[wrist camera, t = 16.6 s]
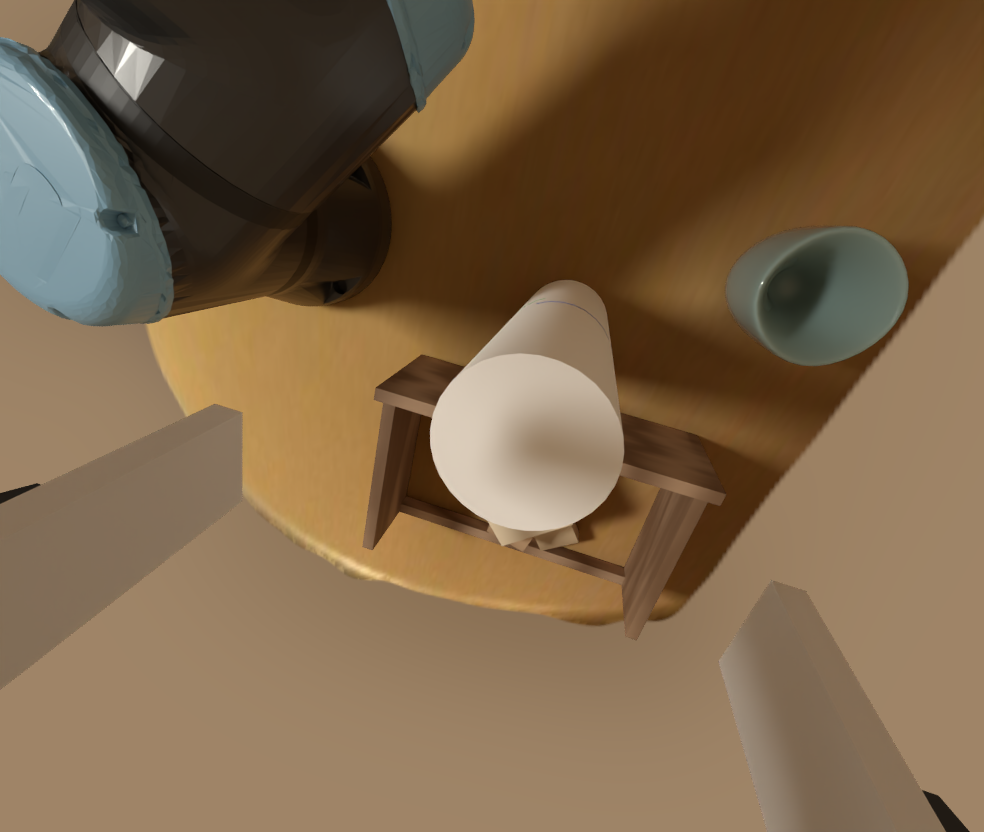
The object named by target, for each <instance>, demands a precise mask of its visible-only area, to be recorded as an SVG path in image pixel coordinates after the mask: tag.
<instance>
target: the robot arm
mask: <svg viewBox="0 0 984 832" xmlns="http://www.w3.org/2000/svg"><path fill="white" fill-rule="evenodd" d="M473 32H474V8H473V2H472V0H74V2H73V4H72V6H71V7H70V9H69V11H68V13H67V14H66V16H65V18H64V20H63V21H62V23H61V25H60V27H59V28H58V30H57V32H56V34H55V36H54V38H53V39H52V41H51V43H50V45H49V46H48V47H47V48H46V49H45V50H43V51H41V52H37V51H35V50H34V49H32V48H31V47H29V46H26V45H24V44H21V43H18V42H15V41H13V40H11V39H8V38H1V37H0V275H1V276H2V277H4V279H5V280H6V281H7V282H9V283H10V284H11V285H12V286H13V287H14V288H15V289H16V290H17V291H19V292H20V293H21V294H22V295H24V296H25V297H26V298H28V299H29V300H30V301H32V302H33V303H35V304H36V305H38V306H39V307H41V308H43V309H44V310H46V311H48V312H50V313H52V314H55V315H57V316H59V317H61V318H65V319H69V320H74V321H76V322H78V323H80V324H83V325H89V326H112V325H124V324H138V323H140V324H145V323H147V324H149V323H155V322H159V321H160V320H161V319H162V318H167V317H171V316H176V315H181V314H185V313H190V312H195V311H199V310H204V309H208V308H213V307H218V306H222V305H227V304H232V303H236V302H241V301H245V300H250V299H255V298H259V297H264V296H267V297H270V298H274V299H278V300H281V301H285V302H288V303H292V304H296V305H301V306H324V305H329V304H333V303H336V302H340V301H343V300H346V299H349V298H351V297H353V296H355V295H356V294H358V293H359V292H361V291H362V290H363V289H365V288H366V287H367V286H368V285H369V284H370V283H371V282H372V280H373V279H374V278H375V277H376V275H377V274H378V272H379V270H380V269H381V267H382V265H383V263H384V260H385V258H386V255H387V251H388V248H389V243H390V237H391V210H390V204H389V199H388V194H387V191H386V188H385V185H384V182H383V179H382V177H381V175H380V172H379V171H378V169H377V167H376V165H375V163H374V162H373V160H372V158H371V157H370V156H371V155H372V154H373V153H374V152H375V151H376V150H377V149H378V148H379V147H380V146H381V145H382V144H383V143H384V142H385V141H386V140H387V139H388V138H389V137H390V136H391V135H392V134H393V133H394V132H395V131H396V130H397V129H398V128H399V127H400V126H401V125H402V124H403V123H404V122H405V121H406V120H407V119H408V118H409V117H410V116H411V115H412V114H413V113H414V112H415V111H417V112H418V113H419V112H420V111H421V110H423V109H424V107H425V105H426V98H427V97H428V96H429V95H430V94H431V93H432V92H433V91H434V89H435V88H436V87H437V86H438V85H439V84H440V83H441V82H442V81H443V79H444V78H445V77H446V76H447V75H448V74H449V73H450V72H451V71H452V70H453V68H454V67H455V66H456V65H457V64H458V63H459V62H460V61H461V59H462V58H463V57H464V56H465V54H466V52H467V50H468V48H469V46H470V44H471V41H472V37H473ZM241 502H242V412H239V411H236V410H233V409H230V408H227V407H223V406H220V405H217V404H213V405H211V406H209V407H207V408H205V409H203V410H201V411H198V412H196V413H194V414H192V415H190V416H188V417H186V418H184V419H181V420H179V421H177V422H175V423H173V424H171V425H168V426H166V427H164V428H162V429H160V430H158V431H156V432H154V433H151V434H149V435H147V436H145V437H143V438H141V439H139V440H136V441H134V442H132V443H130V444H128V445H126V446H124V447H121V448H119V449H117V450H115V451H113V452H111V453H109V454H106V455H104V456H102V457H100V458H98V459H96V460H94V461H91V462H89V463H87V464H85V465H83V466H81V467H79V468H76V469H74V470H72V471H70V472H68V473H66V474H64V475H62V476H59V477H57V478H55V479H53V480H51V481H49V482H46V483H44V484H42V485H40V484H37V483H36V484H33V485H29V486H25V487H21V488H18V489H14V490H10V491H6V492H3V493H0V690H1V689H2V688H3V687H5V686H6V685H7V684H8V683H10V682H11V681H12V680H14V679H15V678H16V677H17V676H19V675H20V674H21V673H23V672H24V671H25V670H26V669H28V668H29V667H30V666H31V665H33V664H34V663H35V662H37V661H38V660H39V659H40V658H42V657H43V656H44V655H46V654H47V653H48V652H49V651H51V650H52V649H53V648H54V647H56V646H57V645H58V644H60V643H61V642H62V641H64V640H65V639H66V638H67V637H69V636H70V635H71V634H73V633H74V632H75V631H76V630H78V629H79V628H80V627H81V626H83V625H84V624H85V623H86V622H88V621H89V620H90V619H92V618H93V617H94V616H96V615H97V614H98V613H99V612H101V611H102V610H103V609H105V608H106V607H107V606H108V605H110V604H111V603H112V602H114V601H115V600H116V599H117V598H119V597H120V596H121V595H122V594H124V593H125V592H126V591H128V590H129V589H130V588H131V587H133V586H134V585H135V584H137V583H138V582H139V581H140V580H142V579H143V578H144V577H145V576H147V575H148V574H149V573H151V572H152V571H153V570H155V569H156V568H157V567H158V566H160V565H161V564H162V563H164V562H165V561H166V560H167V559H169V558H170V557H171V556H173V555H174V554H175V553H176V552H178V551H179V550H180V549H182V548H183V547H184V546H185V545H187V544H188V543H189V542H190V541H192V540H193V539H194V538H195V537H197V536H198V535H199V534H201V533H202V532H203V531H205V530H206V529H207V528H208V527H210V526H211V525H212V524H214V523H215V522H216V521H217V520H218V519H220V518H221V517H223V516H224V515H225V514H226V513H228V512H229V511H230V510H231V509H233V508H234V507H235V506H237V505H238V504H239V503H241ZM719 665H720V668H721V672H722V675H723V678H724V682H725V685H726V689H727V693H728V696H729V700H730V703H731V707H732V710H733V714H734V717H735V721H736V724H737V728H738V731H739V735H740V738H741V742H742V745H743V748H744V752H745V756H746V759H747V762H748V766H749V770H750V773H751V777H752V780H753V784H754V787H755V791H756V794H757V798H758V801H759V805H760V808H761V812H762V815H763V819H764V822H765V825H766V829H767V832H969V831H968V829H967V828H966V827H965V826H964V825H963V823H962V822H961V821H960V820H959V819H958V818H957V817H956V815H955V814H954V813H953V812H952V811H951V810H950V809H949V807H948V806H947V805H946V804H945V803H944V802H943V800H942V799H941V798H940V797H939V796H938V795H935V794H932V793H929V792H926V791H923V790H921V788H920V786H919V785H918V783H917V781H916V779H915V778H914V776H913V774H912V773H911V771H910V769H909V767H908V766H907V764H906V762H905V761H904V759H903V757H902V755H901V754H900V752H899V750H898V749H897V747H896V745H895V743H894V742H893V740H892V738H891V736H890V735H889V733H888V731H887V730H886V728H885V726H884V724H883V723H882V721H881V719H880V718H879V716H878V714H877V713H876V711H875V709H874V707H873V706H872V704H871V702H870V700H869V699H868V697H867V695H866V694H865V692H864V690H863V688H862V687H861V685H860V683H859V681H858V680H857V678H856V676H855V675H854V673H853V671H852V669H851V668H850V666H849V664H848V662H847V661H846V659H845V657H844V656H843V654H842V652H841V650H840V649H839V647H838V645H837V644H836V642H835V640H834V638H833V637H832V635H831V633H830V632H829V630H828V628H827V626H826V625H825V623H824V621H823V620H822V618H821V617H820V615H819V613H818V611H817V609H816V607H815V606H814V604H813V602H812V601H811V599H810V597H809V595H808V594H807V592H806V591H804V590H801V589H798V588H795V587H792V586H788V585H785V584H782V583H779V582H776V581H772V580H771V581H770V583H769V584H768V586H767V587H766V589H765V590H764V592H763V593H762V595H761V597H760V598H759V600H758V601H757V603H756V604H755V606H754V607H753V609H752V611H751V612H750V614H749V615H748V617H747V619H746V620H745V621H744V623H743V625H742V626H741V628H740V629H739V631H738V632H737V634H736V635H735V637H734V638H733V640H732V642H731V643H730V645H729V646H728V648H727V649H726V651H725V653H724V654H723V656H722V657H721V659H720V660H719Z"/></svg>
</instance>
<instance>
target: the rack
mask: <svg viewBox="0 0 984 832" xmlns="http://www.w3.org/2000/svg"><path fill="white" fill-rule="evenodd" d="M464 368H465V367H462V366H459V365H456V364H452V363H449V362H445V361H442V360H438V359H435V358H432V357H428V356H425V355H420V356H419V357H418V358H416V359H415V360H413V361H412V362H411V363H409V364H408V365H407V366H405V367H404V368H402V369H401V370H400V371H398V372H397V373H395V374H394V375H393V376H391V377H390V378H388V379H387V380H386V381H384V382H383V383H382V384H380V385H379V386H377V387H376V388H375V396H374V400H376V401H379V402H383V409H382V416H381V422H380V429H379V436H378V443H377V450H376V457H375V464H374V471H373V478H372V485H371V492H370V499H369V505H368V512H367V519H366V526H365V533H364V540H363V547H364V548H367V549H370V550H373V549H374V547H375V546H376V544H377V543H378V542H379V540H380V539H381V537H382V536H383V534H384V533H385V531H386V530H387V529H388V527H389V526H390V524H391V523H392V521H393V520H394V519H395V517H396V516H397V514H398V513H399V511H400V512H403V513H406V514H409V515H412V516H415V517H418V518H421V519H424V520H427V521H430V522H433V523H436V524H439V525H442V526H445V527H448V528H451V529H454V530H457V531H460V532H463V533H466V534H469V535H472V536H475V537H478V538H481V539H484V540H487V541H490V542H493V543H496V544H499V545H501V544H500V542H499V540H498V539H497V537H496V536H494V535H492V534H491V533H489V532H487V529H488V526H489V523H486V522H483V521H480V520H477V519H474V518H471V517H468V516H465V515H462V514H459V513H456V512H453V511H450V510H446V509H443V508H440V507H437V506H434V505H431V504H428V503H425V502H422V501H419V500H416V499H413V498H410V497H407V496H406V494H407V489H408V483H409V478H410V473H411V467H412V462H413V456H414V451H415V445H416V440H417V435H418V429H419V424H420V418H421V414H422V415H425V416H428V417H431V418H432V416H433V412H434V410H435V408H436V405H437V403H438V400H439V398H440V396H441V395H442V394H443V392H444V391H445V389H446V388H447V387H448V385H449V384H450V383H451V381H452V380H453V379H454V378H455V377H456V376H457V375H458V374H459V373H460V372H461V371H462V370H463V369H464ZM620 415H621V422H622V430H623V438H624V457H623V464H622V470H621V472H620V476H624V477H627V478H630V479H633V480H637V481H640V482H643V483H646V484H650V485H653V486H656V487H659V488H660V490H659V493H658V495H657V497H656V499H655V501H654V504H653V506H652V508H651V510H650V512H649V514H648V517H647V519H646V521H645V523H644V525H643V528H642V530H641V532H640V534H639V536H638V539H637V541H636V543H635V545H634V547H633V549H632V552H631V554H630V556H629V558H628V560H627V563H626V565H625V567H621V566H618V565H615V564H612V563H609V562H606V561H603V560H600V559H596V558H593V557H590V556H587V555H584V554H581V553H578V552H575V551H572V550H569V549H566V548H563V547H556V548H552V549H547V550H542V551H541V550H540V548H539V546H538V544H537V541H536V539H535V538H533V539H532V540H531V541H530V543H529V544H528V545H527V547H526V548H525V550H524V551H523V552H524V553H527V554H530V555H533V556H536V557H539V558H542V559H545V560H548V561H551V562H554V563H557V564H560V565H563V566H566V567H569V568H572V569H575V570H578V571H581V572H584V573H587V574H590V575H593V576H596V577H599V578H602V579H605V580H608V581H611V582H614V583H617V584H620V585H622V597H623V610H624V624H625V636H626V637H628V638H631V639H634V640H637V639H638V637H639V635H640V633H641V631H642V629H643V627H644V625H645V623H646V621H647V619H648V617H649V615H650V613H651V612H652V610H653V608H654V606H655V604H656V602H657V600H658V598H659V596H660V594H661V592H662V590H663V588H664V586H665V584H666V583H667V581H668V579H669V577H670V575H671V573H672V571H673V569H674V567H675V565H676V563H677V561H678V559H679V557H680V555H681V553H682V552H683V550H684V548H685V546H686V544H687V542H688V540H689V538H690V536H691V534H692V532H693V530H694V528H695V526H696V524H697V522H698V521H699V519H700V517H701V515H702V513H703V511H704V509H705V507H706V505H707V503H711V504H715V505H718V506H721V504H722V502H723V500H724V498H725V496H726V493H725V491H724V489H723V487H722V484H721V482H720V480H719V478H718V476H717V474H716V472H715V470H714V468H713V466H712V464H711V462H710V460H709V458H708V456H707V454H706V452H705V450H704V448H703V446H702V444H701V442H700V440H699V438H698V436H697V435H694V434H691V433H687V432H684V431H680V430H677V429H673V428H670V427H667V426H663V425H660V424H656V423H653V422H650V421H646V420H643V419H639V418H636V417H633V416H629V415H626V414H622V413H620ZM504 546H505V547H508V548H512V549H515V550H518V551H520V550H519V549H517V548H515V547H513V546H512V545H510V544H507V545H504ZM521 552H522V551H521Z"/></svg>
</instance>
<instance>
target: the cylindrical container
mask: <svg viewBox="0 0 984 832" xmlns="http://www.w3.org/2000/svg"><path fill="white" fill-rule="evenodd" d="M430 446H431V451H432V456H433V461H434V463H435V465H436V468H437V470H438V473H439V475H440V477H441V478H442V480H443V482H444V483H445V485H446V486H447V488H448V489H449V491H450V492H451V493H452V494H453V495H454V496H455V497H456V498H457V499H458V500H459V501H460V502H461V504H463V505H464V506H465V507H467V508H468V509H469V510H471V511H472V512H473V513H475V514H476V515H478V516H480V517H482V518H484V519H486V520H488V521H490V522H492V523H494V524H497V525H501V526H504V527H507V528H511V529H517V530H523V531H544V530H550V529H556V528H561V527H564V526H566V525H569V524H572V523H575V522H577V521H579V520H580V519H582V518H584V517H585V516H587V515H589V514H590V513H592V512H593V511H594V510H595V509H596V508H597V507H598V506H599V505H601V504H602V503H603V502H604V501H605V500H606V498H607V497H608V495H609V494H610V492H611V491H612V489H613V488H614V487H615V485H616V482H617V480H618V477H619V475H620V472H621V470H622V464H623V457H624V438H623V430H622V422H621V415H620V407H619V400H618V393H617V385H616V378H615V370H614V363H613V355H612V348H611V340H610V333H609V325H608V318H607V312H606V308H605V305H604V303H603V301H602V299H601V298H600V297H599V295H598V294H597V293H596V292H595V291H594V290H593V289H591V288H590V287H589V286H587V285H585V284H583V283H581V282H578V281H574V280H559V281H555V282H552V283H549V284H547V285H545V286H544V287H542V288H541V289H539V290H538V291H537V292H536V293H535V294H534V295H533V296H532V297H531V298H530V299H529V300H528V301H527V302H526V303H525V305H524V306H523V307H522V308H521V309H520V310H519V311H518V312H517V313H516V314H515V315H514V316H513V317H512V318H511V319H510V320H509V322H508V323H507V324H506V325H505V326H504V327H503V328H502V329H501V330H500V331H499V332H498V333H497V334H496V335H495V336H494V337H493V338H492V339H491V340H490V342H489V343H488V344H487V345H486V346H485V347H484V348H483V349H482V350H481V351H480V352H479V353H478V354H477V355H476V356H475V357H474V358H473V359H472V360H471V361H470V363H469V364H468V365H467V366H466V367H465V368H464V369H463V370H462V371H461V372H460V373H459V374H458V375H457V376H456V377H455V378H454V379H453V380H452V381H451V383H450V384H449V385H448V387H447V388H446V389H445V391H444V392H443V394H442V395H441V396H440V398H439V400H438V403H437V405H436V408H435V410H434V412H433V416H432V422H431V427H430Z"/></svg>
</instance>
